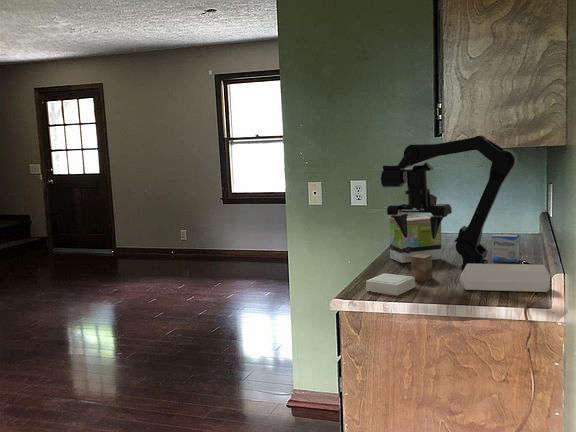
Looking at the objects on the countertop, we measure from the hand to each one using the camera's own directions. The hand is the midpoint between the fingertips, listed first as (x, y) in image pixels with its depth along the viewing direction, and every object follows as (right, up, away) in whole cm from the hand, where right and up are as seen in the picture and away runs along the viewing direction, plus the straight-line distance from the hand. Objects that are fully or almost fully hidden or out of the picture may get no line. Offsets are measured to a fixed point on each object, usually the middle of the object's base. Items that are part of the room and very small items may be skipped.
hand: (419, 238), depth 179 cm
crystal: (+20, -14, -16) cm, 29 cm away
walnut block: (+1, -12, +1) cm, 12 cm away
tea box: (+5, -9, +29) cm, 30 cm away
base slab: (-10, -14, -9) cm, 20 cm away
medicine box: (+32, -8, +17) cm, 38 cm away
